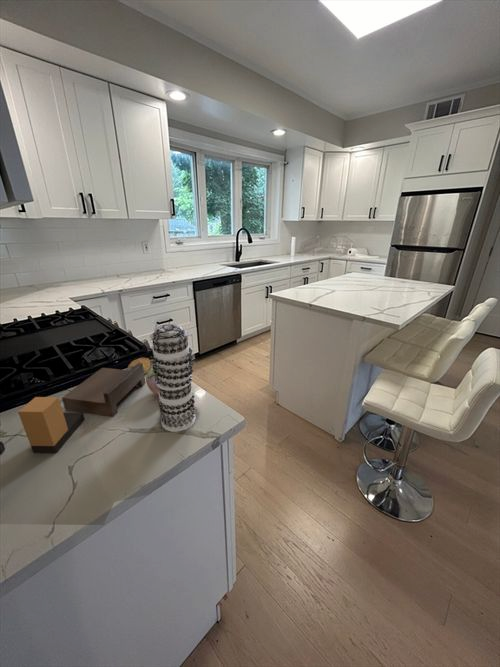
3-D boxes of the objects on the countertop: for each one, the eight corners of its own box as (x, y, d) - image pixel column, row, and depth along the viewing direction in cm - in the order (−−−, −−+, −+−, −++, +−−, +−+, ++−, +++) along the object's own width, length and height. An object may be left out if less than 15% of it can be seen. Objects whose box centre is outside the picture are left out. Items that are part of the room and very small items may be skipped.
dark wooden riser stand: (65, 410, 73) (58, 387, 70) (104, 378, 88) (100, 359, 85) (113, 416, 71) (108, 393, 68) (145, 383, 85) (142, 363, 83)
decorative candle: (199, 429, 67) (192, 334, 57) (159, 436, 65) (145, 338, 55) (196, 406, 75) (189, 319, 66) (160, 411, 73) (148, 322, 63)
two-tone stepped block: (56, 453, 60) (42, 411, 56) (33, 453, 60) (17, 411, 56) (84, 419, 70) (74, 382, 66) (64, 419, 70) (53, 381, 66)
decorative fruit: (166, 382, 86) (162, 353, 82) (185, 389, 82) (182, 360, 79) (141, 397, 79) (135, 366, 75) (161, 406, 75) (157, 374, 71)
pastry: (135, 362, 98) (134, 352, 96) (155, 362, 98) (153, 352, 96) (125, 376, 89) (124, 366, 87) (147, 376, 89) (145, 365, 88)
